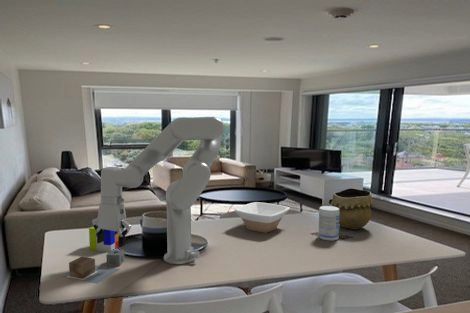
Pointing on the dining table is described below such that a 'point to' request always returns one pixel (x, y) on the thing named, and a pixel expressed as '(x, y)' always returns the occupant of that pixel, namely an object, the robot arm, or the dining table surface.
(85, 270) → the walnut block
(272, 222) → the bowl
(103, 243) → the puzzle toy
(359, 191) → the clay pot
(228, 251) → the dining table surface
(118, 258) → the grey cube
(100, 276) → the board
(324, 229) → the supplement tub
